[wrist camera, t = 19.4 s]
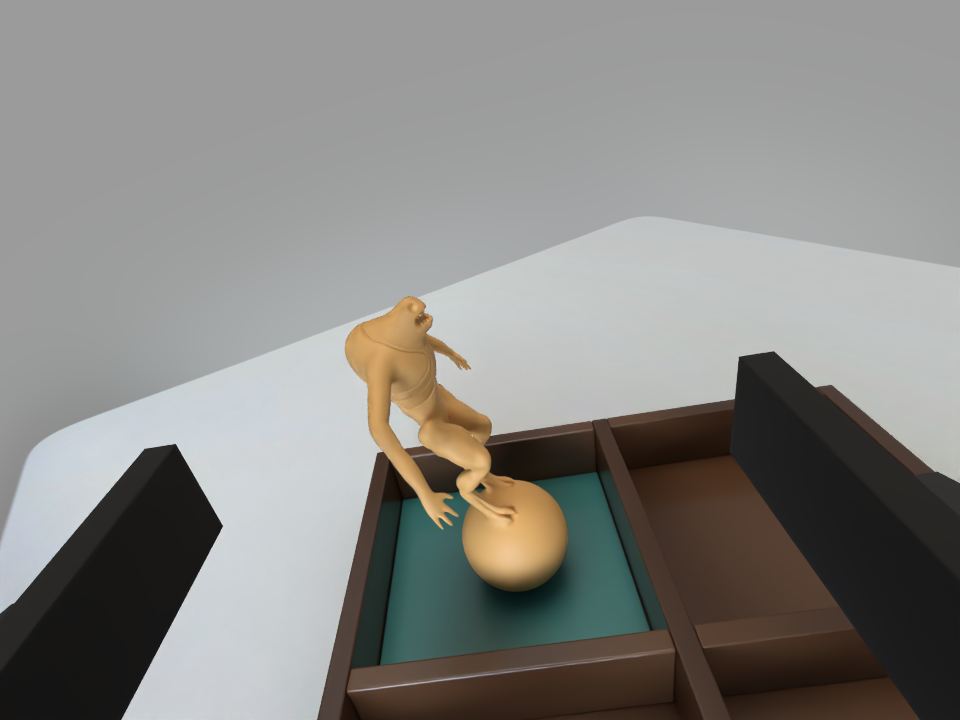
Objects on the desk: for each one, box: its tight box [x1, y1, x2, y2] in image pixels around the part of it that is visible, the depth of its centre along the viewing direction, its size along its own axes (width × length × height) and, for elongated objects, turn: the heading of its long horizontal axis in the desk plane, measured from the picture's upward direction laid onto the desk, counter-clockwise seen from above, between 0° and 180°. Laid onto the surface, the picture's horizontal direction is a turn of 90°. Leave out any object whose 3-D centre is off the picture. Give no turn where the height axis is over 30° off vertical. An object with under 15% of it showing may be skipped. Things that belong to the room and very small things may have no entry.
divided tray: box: [317, 385, 934, 720], centre depth 15 cm, size 21×21×3 cm
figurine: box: [345, 296, 568, 592], centre depth 18 cm, size 8×6×12 cm
